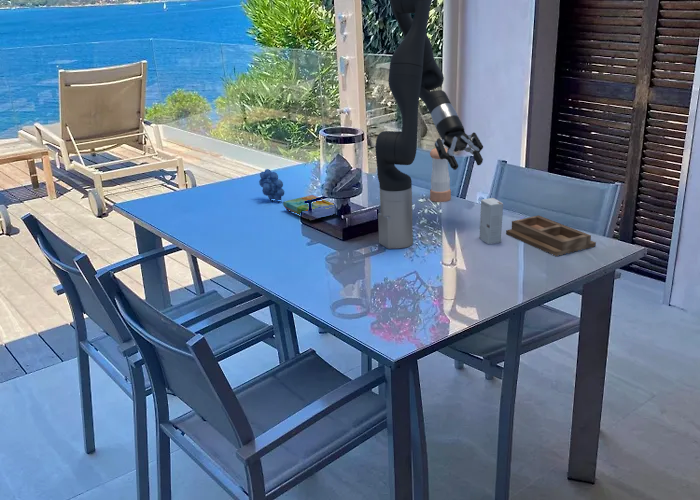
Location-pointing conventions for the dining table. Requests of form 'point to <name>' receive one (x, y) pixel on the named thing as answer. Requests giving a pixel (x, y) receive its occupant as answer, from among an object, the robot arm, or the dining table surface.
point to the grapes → (271, 185)
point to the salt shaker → (439, 178)
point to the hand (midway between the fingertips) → (468, 166)
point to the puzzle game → (304, 204)
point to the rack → (549, 235)
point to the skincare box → (491, 220)
